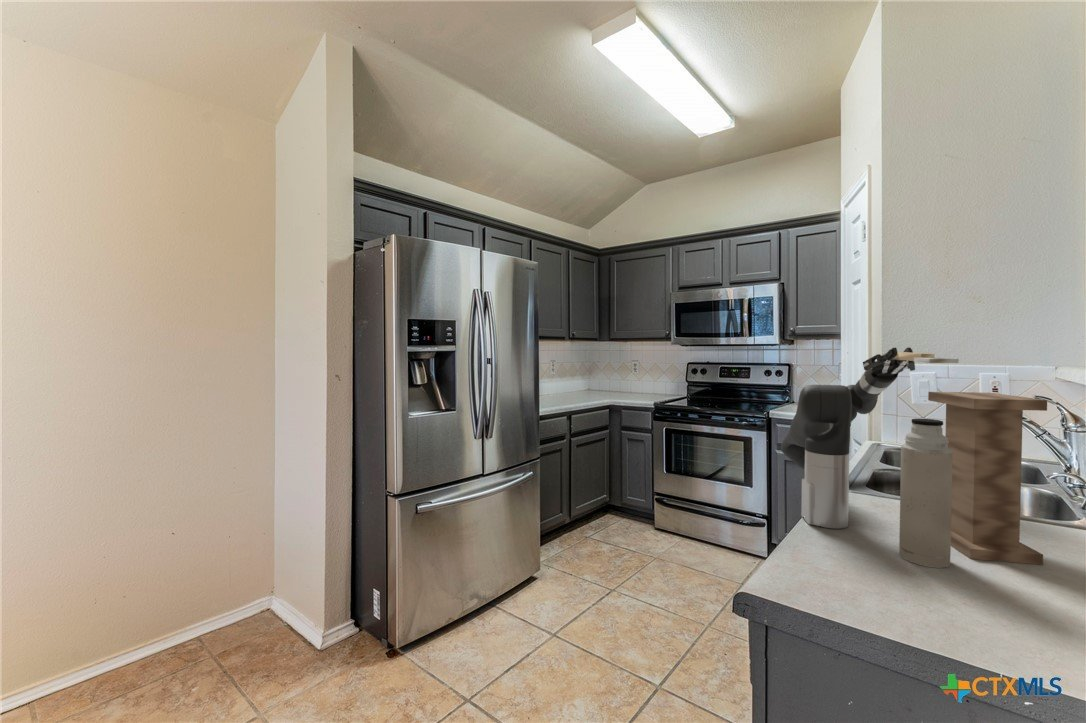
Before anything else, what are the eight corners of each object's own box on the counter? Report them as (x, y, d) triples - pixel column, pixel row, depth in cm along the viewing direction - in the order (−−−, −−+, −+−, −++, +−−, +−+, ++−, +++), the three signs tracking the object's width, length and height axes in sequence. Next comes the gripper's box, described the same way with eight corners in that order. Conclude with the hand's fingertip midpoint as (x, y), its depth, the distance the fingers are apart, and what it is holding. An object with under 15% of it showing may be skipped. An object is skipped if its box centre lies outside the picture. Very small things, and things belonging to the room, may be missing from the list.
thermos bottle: (890, 549, 100) (892, 416, 99) (931, 551, 99) (934, 416, 98) (916, 567, 92) (918, 422, 91) (960, 568, 91) (964, 422, 90)
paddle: (929, 362, 115) (929, 354, 115) (881, 358, 140) (881, 351, 140) (958, 363, 114) (958, 354, 114) (904, 358, 138) (904, 351, 138)
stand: (970, 558, 96) (973, 399, 95) (925, 529, 111) (928, 391, 110) (1042, 564, 93) (1047, 400, 92) (986, 533, 108) (990, 392, 108)
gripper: (906, 389, 145) (935, 362, 130) (854, 388, 148) (877, 362, 133) (900, 367, 148) (928, 338, 134) (850, 366, 152) (871, 338, 137)
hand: (902, 350), depth 133 cm, fingers closed on paddle, 3 cm apart
